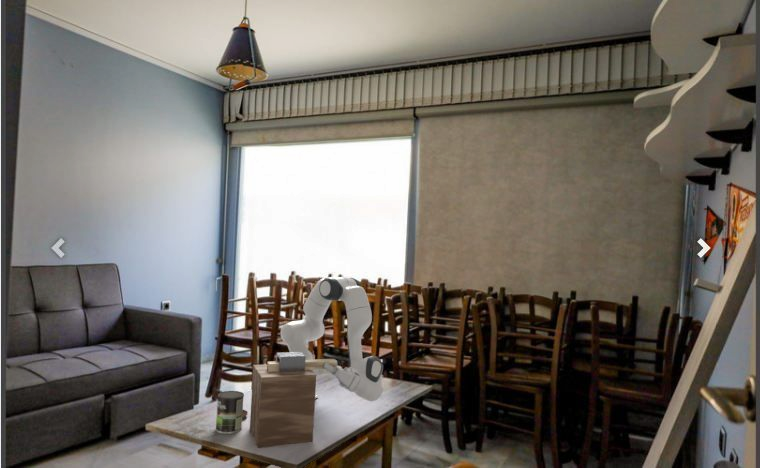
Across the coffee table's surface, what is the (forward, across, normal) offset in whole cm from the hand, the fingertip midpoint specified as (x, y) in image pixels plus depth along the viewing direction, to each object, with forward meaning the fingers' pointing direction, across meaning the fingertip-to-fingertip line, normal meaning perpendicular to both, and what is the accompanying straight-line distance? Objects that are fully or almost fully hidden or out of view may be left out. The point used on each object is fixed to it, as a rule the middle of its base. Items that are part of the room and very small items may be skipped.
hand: (322, 362), depth 204 cm
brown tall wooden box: (0, 0, +32) cm, 32 cm away
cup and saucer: (+13, -26, +40) cm, 49 cm away
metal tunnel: (+10, 0, +8) cm, 13 cm away
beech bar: (+6, 0, +6) cm, 8 cm away
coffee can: (+16, -12, +42) cm, 46 cm away
